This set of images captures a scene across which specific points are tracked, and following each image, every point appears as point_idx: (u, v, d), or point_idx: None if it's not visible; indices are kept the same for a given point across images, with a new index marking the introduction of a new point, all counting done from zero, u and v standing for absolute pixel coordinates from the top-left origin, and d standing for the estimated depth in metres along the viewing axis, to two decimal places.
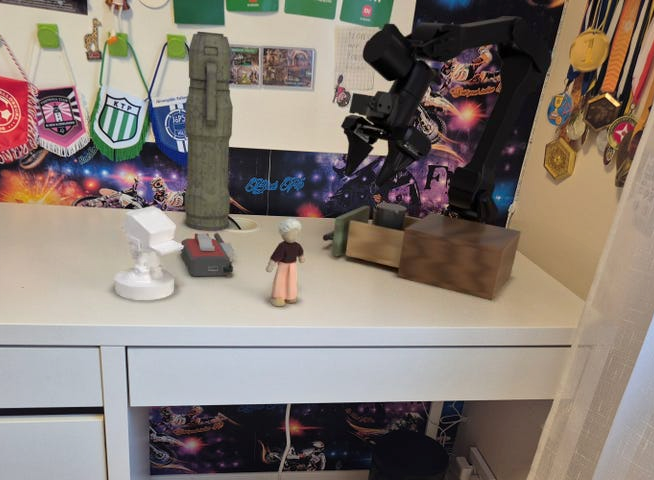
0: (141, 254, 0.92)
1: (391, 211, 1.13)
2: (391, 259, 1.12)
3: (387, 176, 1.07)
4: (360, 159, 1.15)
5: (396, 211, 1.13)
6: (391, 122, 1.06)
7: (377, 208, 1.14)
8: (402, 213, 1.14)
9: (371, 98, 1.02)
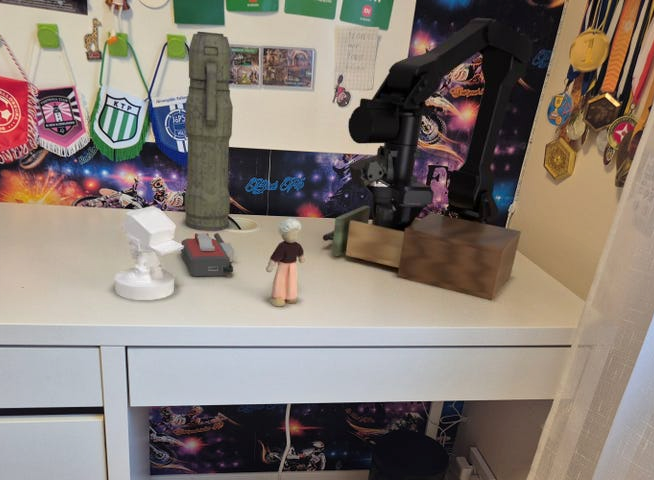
0: (141, 254, 0.92)
1: (391, 211, 1.13)
2: (391, 259, 1.12)
3: (403, 229, 1.12)
4: None
5: None
6: (391, 179, 1.09)
7: (377, 208, 1.14)
8: None
9: (361, 172, 1.07)
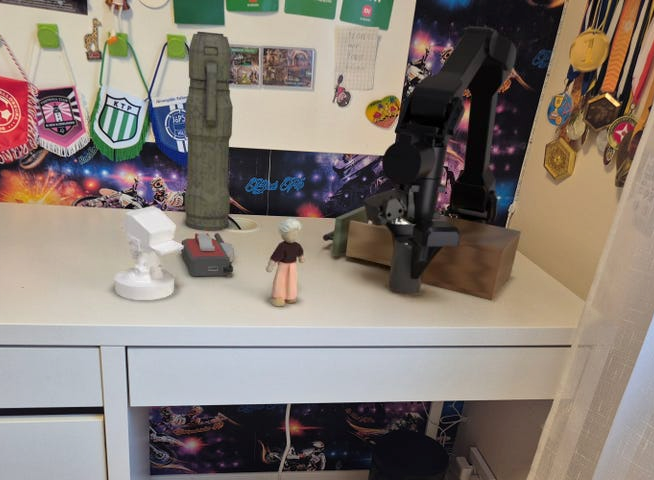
0: (141, 254, 0.92)
1: None
2: (391, 259, 1.12)
3: (420, 268, 1.00)
4: None
5: None
6: (412, 216, 0.97)
7: (396, 242, 1.01)
8: None
9: (378, 210, 0.94)
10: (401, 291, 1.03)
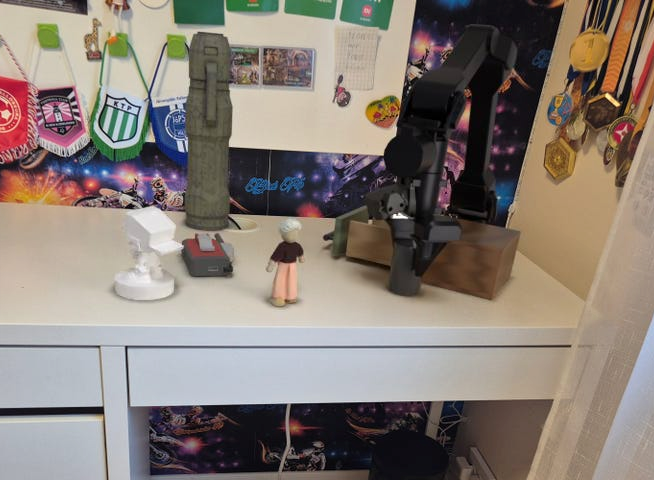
0: (141, 254, 0.92)
1: (411, 249, 1.00)
2: (391, 259, 1.12)
3: (424, 266, 0.99)
4: (407, 238, 1.06)
5: None
6: (413, 211, 0.96)
7: (395, 245, 1.02)
8: None
9: (379, 204, 0.94)
10: (401, 293, 1.03)
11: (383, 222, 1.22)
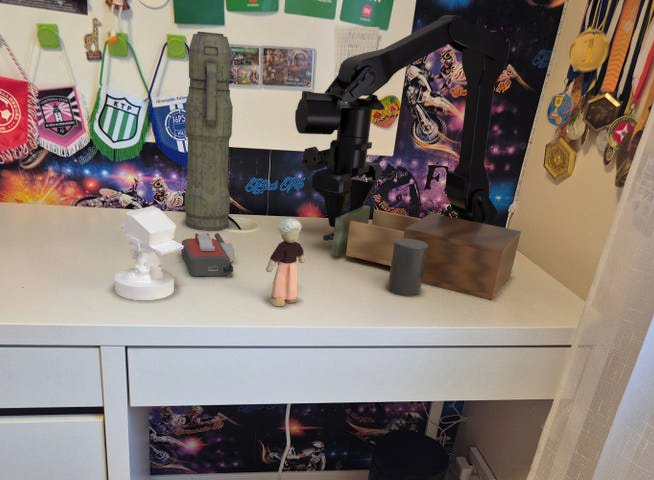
0: (141, 254, 0.92)
1: (411, 249, 1.00)
2: (391, 259, 1.12)
3: (333, 217, 1.15)
4: (361, 198, 1.22)
5: (417, 249, 1.00)
6: (331, 167, 1.15)
7: (395, 245, 1.02)
8: (424, 251, 1.01)
9: None
10: (401, 293, 1.03)
11: (383, 222, 1.22)
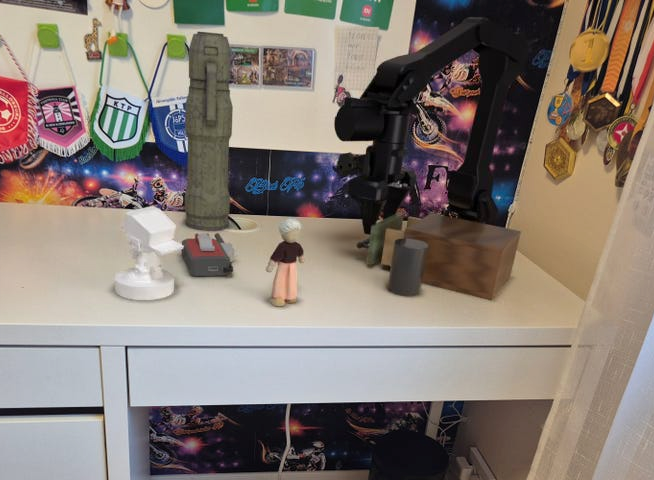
0: (141, 254, 0.92)
1: (411, 249, 1.00)
2: None
3: (369, 224, 1.13)
4: (395, 205, 1.20)
5: (417, 249, 1.00)
6: (367, 173, 1.12)
7: (395, 245, 1.02)
8: (424, 251, 1.01)
9: (337, 163, 1.14)
10: (401, 293, 1.03)
11: None
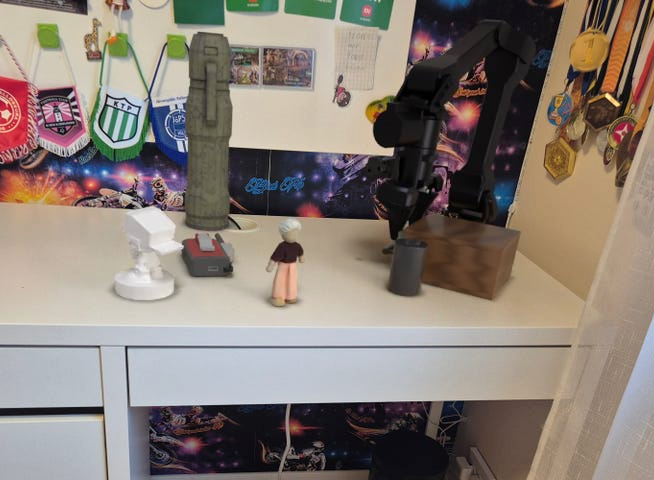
0: (141, 254, 0.92)
1: (411, 249, 1.00)
2: None
3: (395, 230, 1.11)
4: (421, 210, 1.18)
5: (417, 249, 1.00)
6: (395, 178, 1.10)
7: (395, 245, 1.02)
8: (424, 251, 1.01)
9: (366, 166, 1.11)
10: (401, 293, 1.03)
11: None
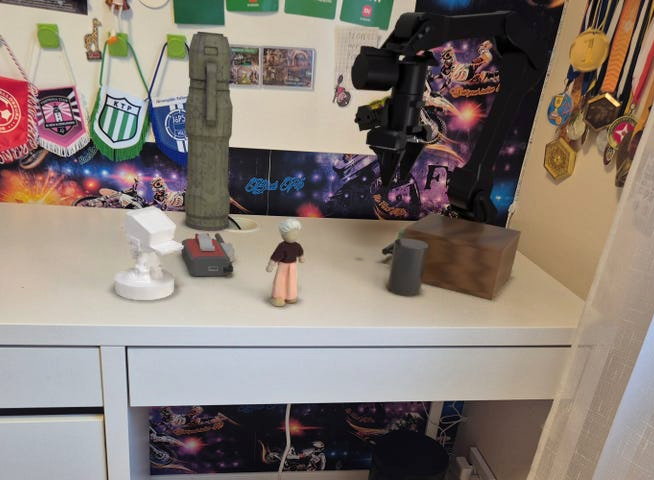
0: (141, 254, 0.92)
1: (411, 249, 1.00)
2: None
3: (387, 176, 1.14)
4: (411, 160, 1.21)
5: (417, 249, 1.00)
6: (385, 126, 1.13)
7: (395, 245, 1.02)
8: (424, 251, 1.01)
9: (356, 116, 1.15)
10: (401, 293, 1.03)
11: None
